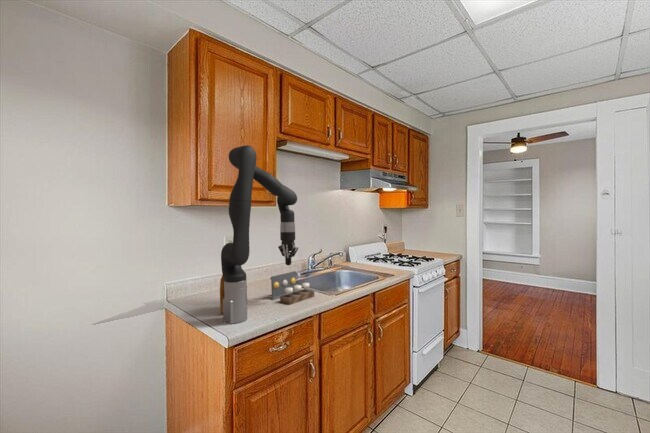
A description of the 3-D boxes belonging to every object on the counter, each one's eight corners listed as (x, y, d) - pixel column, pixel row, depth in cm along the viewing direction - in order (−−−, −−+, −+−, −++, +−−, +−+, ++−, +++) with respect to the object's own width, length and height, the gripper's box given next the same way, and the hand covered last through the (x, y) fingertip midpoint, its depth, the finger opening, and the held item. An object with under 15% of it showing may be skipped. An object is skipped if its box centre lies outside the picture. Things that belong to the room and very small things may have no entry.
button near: (288, 293, 153) (288, 289, 153) (283, 292, 156) (283, 288, 156) (294, 292, 156) (294, 288, 156) (289, 290, 159) (289, 286, 159)
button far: (305, 288, 162) (305, 284, 162) (300, 287, 165) (300, 283, 165) (310, 287, 166) (310, 283, 165) (305, 286, 168) (305, 282, 168)
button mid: (297, 291, 158) (297, 287, 158) (292, 289, 161) (292, 286, 161) (303, 289, 161) (302, 285, 161) (297, 288, 164) (297, 284, 164)
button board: (289, 304, 152) (289, 298, 152) (280, 302, 157) (280, 296, 156) (314, 296, 165) (314, 290, 165) (305, 294, 170) (305, 288, 170)
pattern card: (273, 300, 160) (272, 277, 160) (269, 299, 162) (269, 276, 162) (298, 292, 174) (297, 271, 173) (294, 291, 176) (294, 270, 175)
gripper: (273, 230, 157) (274, 264, 157) (291, 232, 148) (291, 267, 149) (284, 229, 163) (285, 262, 163) (302, 230, 154) (302, 265, 154)
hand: (288, 264), depth 156 cm, fingers closed
